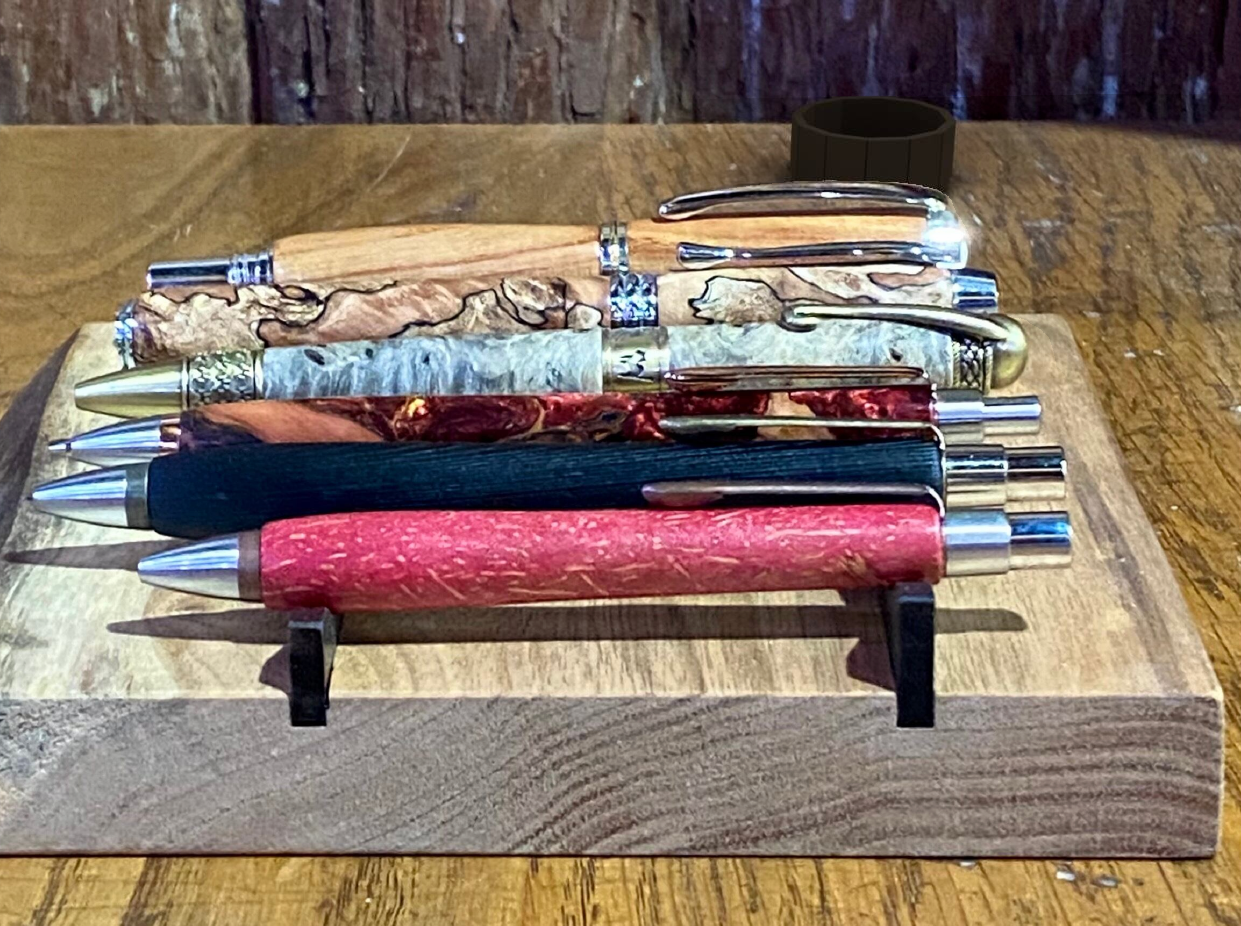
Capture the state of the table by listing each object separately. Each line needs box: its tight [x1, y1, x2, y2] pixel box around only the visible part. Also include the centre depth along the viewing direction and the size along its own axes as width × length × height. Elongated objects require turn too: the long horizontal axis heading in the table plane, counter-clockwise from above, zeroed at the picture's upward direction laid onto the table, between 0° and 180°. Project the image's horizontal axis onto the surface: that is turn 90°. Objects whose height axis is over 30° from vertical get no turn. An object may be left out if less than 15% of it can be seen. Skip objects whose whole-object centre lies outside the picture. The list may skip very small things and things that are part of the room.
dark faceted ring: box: [789, 95, 957, 193], centre depth 108 cm, size 8×8×3 cm
